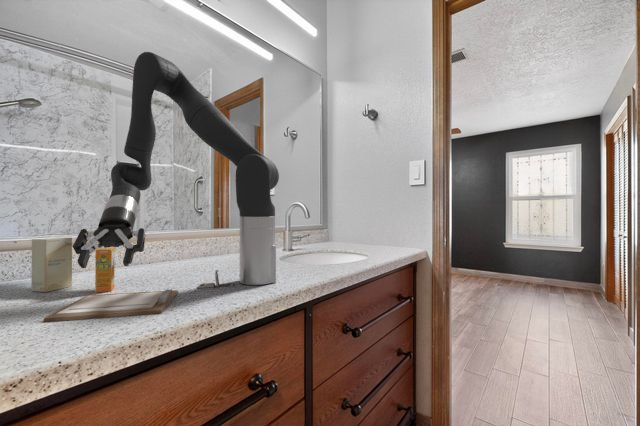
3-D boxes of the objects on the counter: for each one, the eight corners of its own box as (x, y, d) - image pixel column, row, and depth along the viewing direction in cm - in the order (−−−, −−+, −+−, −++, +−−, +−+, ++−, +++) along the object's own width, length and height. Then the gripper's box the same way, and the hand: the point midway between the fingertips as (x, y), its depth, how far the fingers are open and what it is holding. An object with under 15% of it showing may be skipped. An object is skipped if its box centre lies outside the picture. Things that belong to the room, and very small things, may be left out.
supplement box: (94, 293, 67) (94, 249, 67) (98, 289, 71) (98, 247, 71) (111, 291, 69) (111, 248, 69) (115, 288, 72) (115, 246, 72)
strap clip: (197, 290, 71) (197, 272, 71) (198, 287, 74) (198, 270, 74) (234, 288, 74) (234, 270, 74) (234, 285, 77) (234, 268, 76)
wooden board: (178, 292, 68) (178, 284, 68) (161, 313, 54) (161, 303, 54) (86, 298, 64) (86, 289, 64) (43, 321, 50) (43, 311, 50)
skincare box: (45, 292, 68) (45, 239, 68) (30, 291, 69) (29, 239, 69) (73, 285, 74) (73, 237, 74) (59, 285, 75) (58, 236, 75)
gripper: (83, 205, 75) (61, 257, 65) (147, 205, 80) (136, 254, 69) (92, 225, 80) (72, 276, 70) (151, 224, 85) (142, 272, 74)
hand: (104, 265), depth 69 cm, fingers open, 8 cm apart
